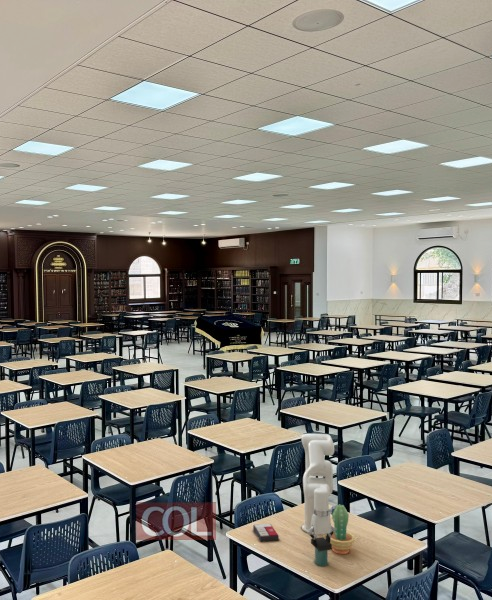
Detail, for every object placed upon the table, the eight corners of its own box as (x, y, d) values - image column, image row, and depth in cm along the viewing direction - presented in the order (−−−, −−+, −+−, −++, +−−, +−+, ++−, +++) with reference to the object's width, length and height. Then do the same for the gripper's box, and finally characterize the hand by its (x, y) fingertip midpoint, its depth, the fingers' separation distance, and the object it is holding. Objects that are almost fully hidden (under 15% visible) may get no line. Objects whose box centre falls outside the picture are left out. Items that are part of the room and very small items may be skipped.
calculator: (260, 535, 319) (253, 523, 334) (260, 542, 320) (253, 530, 334) (278, 534, 321) (270, 522, 336) (278, 541, 321) (270, 529, 336)
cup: (323, 559, 299) (323, 542, 299) (329, 565, 293) (329, 548, 293) (312, 560, 297) (312, 544, 297) (318, 566, 291) (318, 550, 291)
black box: (323, 541, 300) (323, 537, 300) (331, 549, 291) (331, 544, 291) (310, 543, 298) (310, 538, 298) (319, 551, 289) (319, 546, 289)
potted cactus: (343, 541, 319) (343, 499, 319) (361, 553, 305) (361, 509, 304) (320, 546, 314) (320, 502, 313) (337, 558, 300) (337, 513, 299)
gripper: (332, 507, 300) (331, 539, 301) (303, 511, 296) (303, 543, 296) (339, 513, 293) (339, 546, 293) (310, 516, 288) (310, 550, 289)
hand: (321, 544), depth 295 cm, fingers closed on black box, 7 cm apart
